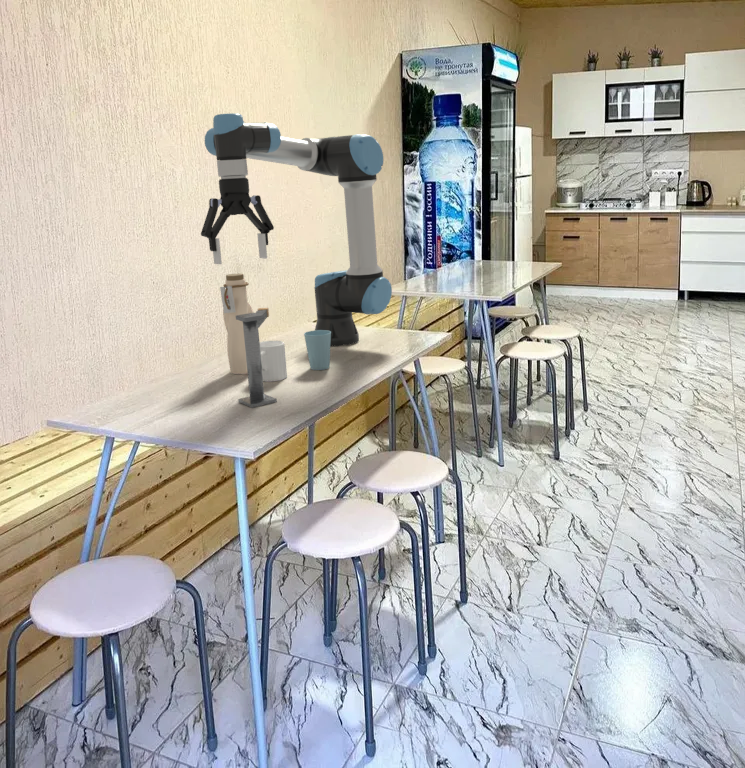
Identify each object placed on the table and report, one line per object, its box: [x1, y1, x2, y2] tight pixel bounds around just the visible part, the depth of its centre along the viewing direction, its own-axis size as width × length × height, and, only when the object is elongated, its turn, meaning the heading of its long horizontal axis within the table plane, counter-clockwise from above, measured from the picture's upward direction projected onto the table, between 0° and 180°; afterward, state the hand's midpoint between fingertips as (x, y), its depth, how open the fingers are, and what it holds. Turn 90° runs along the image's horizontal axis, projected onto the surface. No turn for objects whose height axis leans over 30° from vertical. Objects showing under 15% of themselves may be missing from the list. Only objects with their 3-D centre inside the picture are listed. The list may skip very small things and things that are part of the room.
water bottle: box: [219, 273, 255, 375], centre depth 224 cm, size 10×9×28 cm
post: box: [236, 312, 277, 409], centre depth 194 cm, size 7×7×22 cm
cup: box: [303, 329, 331, 371], centre depth 226 cm, size 8×8×10 cm
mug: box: [259, 340, 288, 383], centre depth 216 cm, size 8×12×10 cm
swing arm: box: [255, 307, 270, 329], centre depth 203 cm, size 19×3×2 cm, turn 179°
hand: (241, 261), depth 206 cm, fingers open, 13 cm apart
